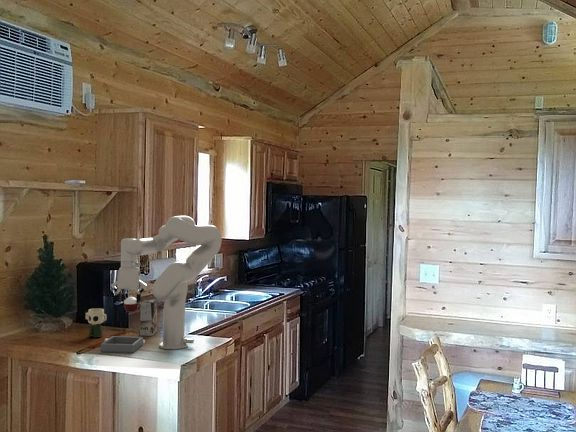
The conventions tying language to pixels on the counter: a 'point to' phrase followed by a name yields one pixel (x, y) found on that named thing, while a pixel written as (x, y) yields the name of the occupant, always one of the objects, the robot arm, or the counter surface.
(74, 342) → the counter surface
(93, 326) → the big headed toy figurine
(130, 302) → the cocoa
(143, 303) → the coffee box
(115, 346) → the tray
